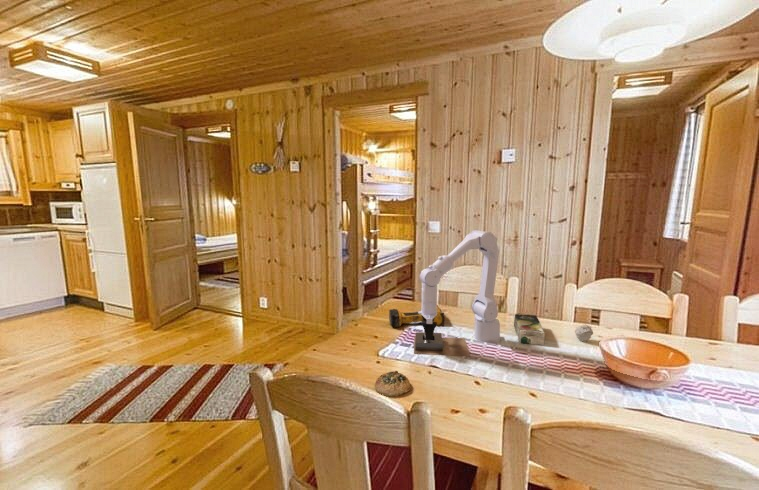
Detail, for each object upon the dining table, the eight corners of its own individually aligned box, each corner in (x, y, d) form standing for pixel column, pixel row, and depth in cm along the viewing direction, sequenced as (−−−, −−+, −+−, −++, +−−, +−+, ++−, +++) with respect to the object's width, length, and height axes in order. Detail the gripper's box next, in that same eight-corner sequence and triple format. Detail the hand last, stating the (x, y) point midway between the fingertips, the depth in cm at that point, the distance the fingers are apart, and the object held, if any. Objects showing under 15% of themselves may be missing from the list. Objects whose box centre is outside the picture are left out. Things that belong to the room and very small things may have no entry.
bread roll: (389, 374, 115) (390, 360, 114) (417, 389, 109) (419, 375, 107) (366, 389, 107) (367, 375, 106) (395, 408, 100) (397, 392, 99)
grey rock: (580, 344, 136) (582, 327, 135) (570, 337, 143) (571, 321, 142) (596, 344, 137) (597, 327, 136) (585, 337, 144) (586, 320, 143)
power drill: (386, 312, 178) (435, 310, 180) (391, 330, 154) (447, 327, 156) (385, 298, 177) (435, 296, 179) (391, 314, 153) (448, 311, 155)
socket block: (441, 340, 139) (441, 333, 139) (442, 351, 129) (442, 343, 129) (415, 339, 140) (415, 332, 140) (415, 350, 130) (415, 342, 130)
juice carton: (546, 346, 136) (546, 331, 135) (518, 344, 138) (519, 329, 137) (536, 328, 155) (537, 314, 154) (513, 326, 157) (513, 313, 156)
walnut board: (464, 340, 141) (464, 338, 141) (470, 358, 125) (470, 356, 125) (414, 338, 143) (414, 336, 143) (413, 356, 128) (413, 353, 127)
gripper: (418, 295, 140) (418, 328, 142) (418, 306, 126) (418, 342, 128) (436, 295, 139) (435, 328, 141) (438, 307, 125) (437, 343, 127)
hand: (428, 335), depth 134 cm, fingers open, 7 cm apart
